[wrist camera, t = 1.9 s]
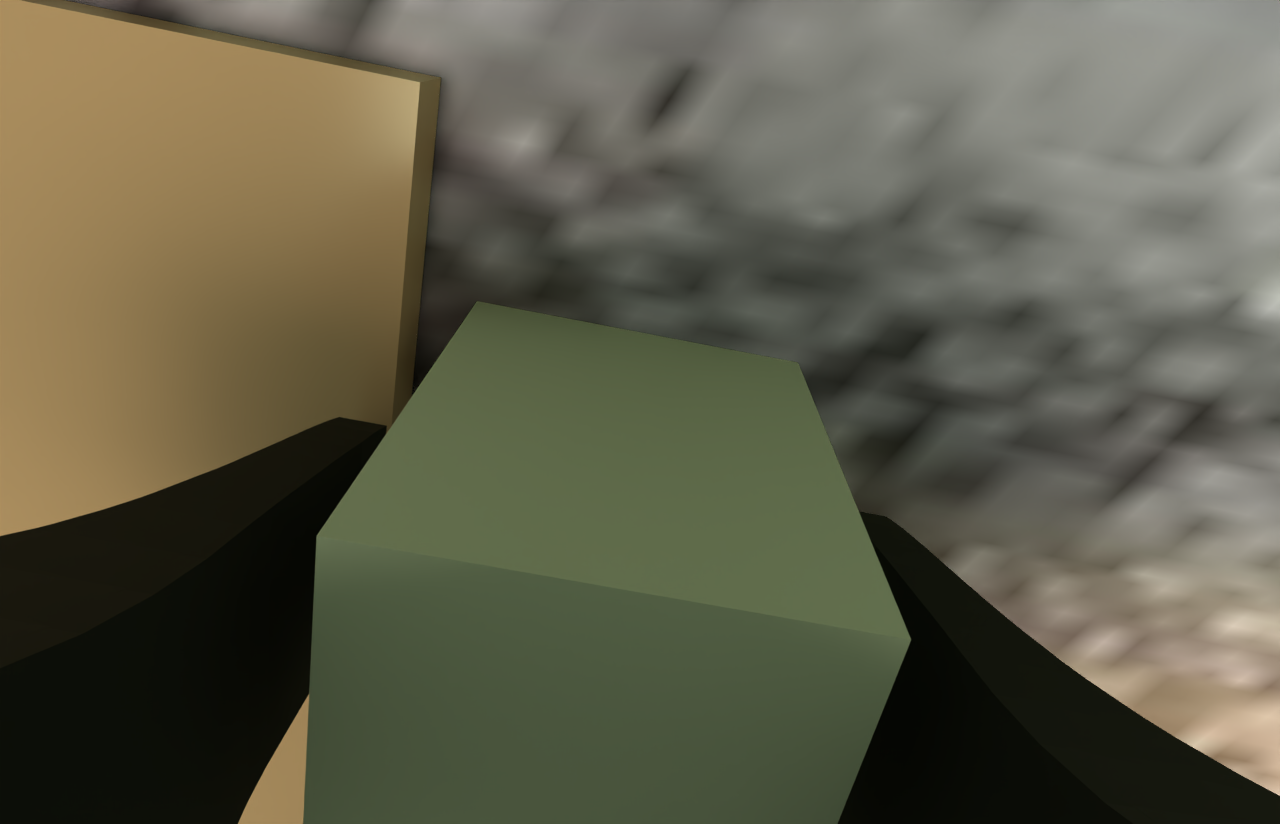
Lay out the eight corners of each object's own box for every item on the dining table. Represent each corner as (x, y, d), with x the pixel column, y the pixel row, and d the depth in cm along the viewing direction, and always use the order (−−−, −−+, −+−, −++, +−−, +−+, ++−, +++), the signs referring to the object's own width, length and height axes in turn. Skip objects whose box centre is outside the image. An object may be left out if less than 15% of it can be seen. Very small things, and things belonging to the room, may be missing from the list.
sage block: (723, 619, 14) (763, 1006, 8) (444, 570, 14) (298, 936, 8) (797, 361, 12) (911, 639, 7) (477, 300, 12) (316, 535, 6)
